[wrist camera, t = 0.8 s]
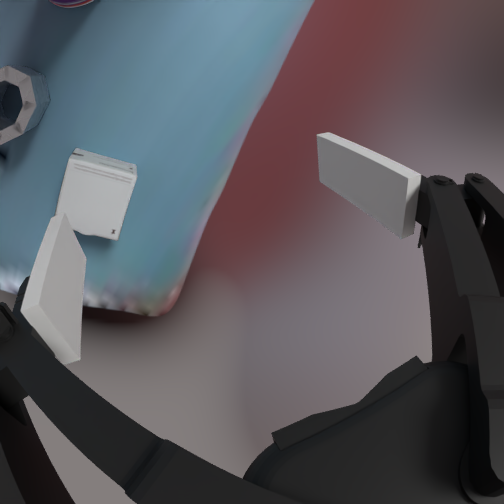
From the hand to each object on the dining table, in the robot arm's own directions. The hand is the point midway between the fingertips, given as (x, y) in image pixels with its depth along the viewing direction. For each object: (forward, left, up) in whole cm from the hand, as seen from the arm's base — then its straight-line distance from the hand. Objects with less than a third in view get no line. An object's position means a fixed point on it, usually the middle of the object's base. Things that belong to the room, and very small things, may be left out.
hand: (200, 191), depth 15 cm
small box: (+5, -9, -23) cm, 25 cm away
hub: (-8, -15, -22) cm, 28 cm away
